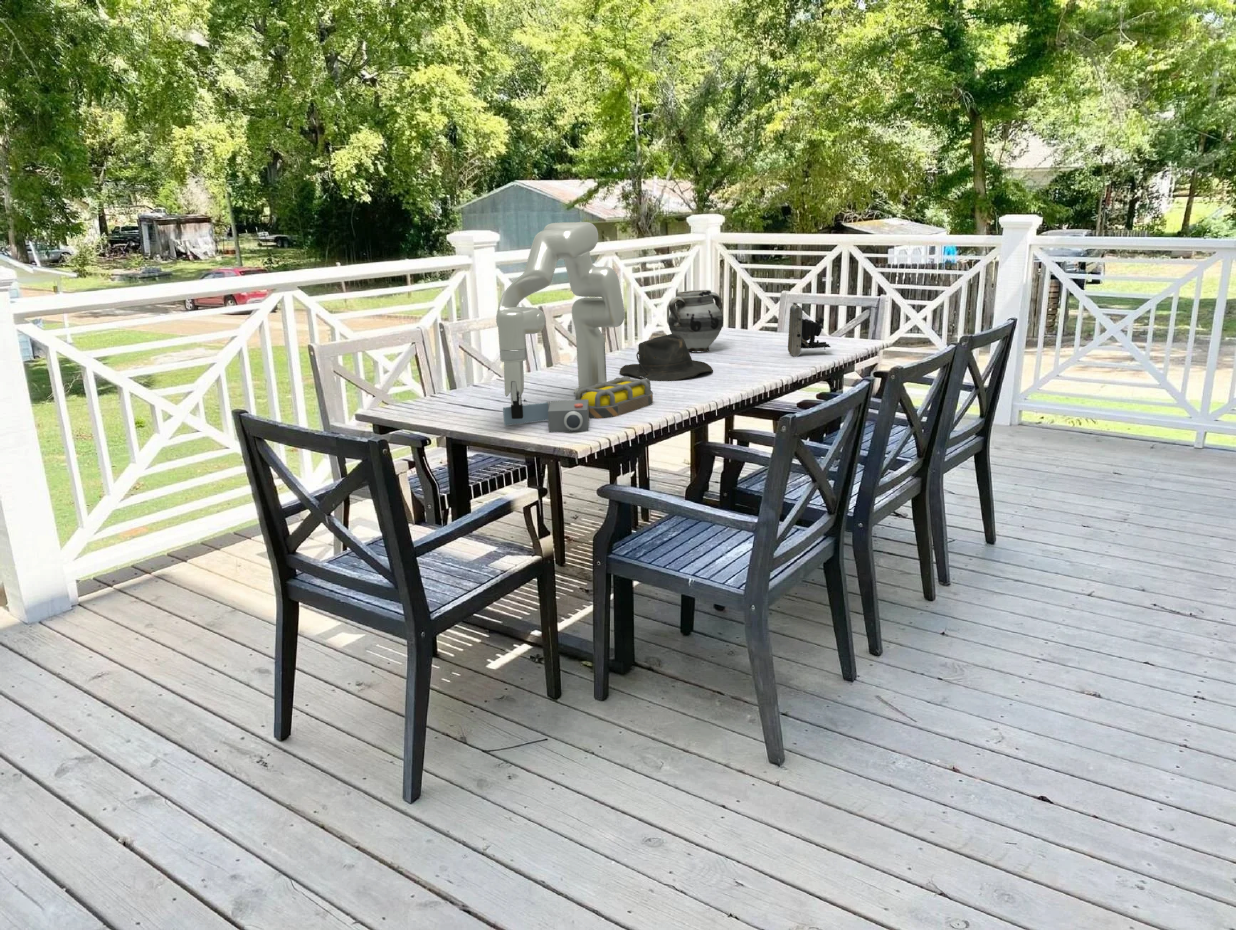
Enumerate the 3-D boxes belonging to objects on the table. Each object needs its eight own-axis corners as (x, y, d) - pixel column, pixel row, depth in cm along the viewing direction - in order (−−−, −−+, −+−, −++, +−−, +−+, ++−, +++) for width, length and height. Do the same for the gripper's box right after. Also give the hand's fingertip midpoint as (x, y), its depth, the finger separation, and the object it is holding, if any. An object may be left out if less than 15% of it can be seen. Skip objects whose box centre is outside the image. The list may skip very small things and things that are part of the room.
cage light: (563, 390, 278) (624, 373, 301) (565, 416, 281) (625, 397, 303) (601, 394, 270) (661, 377, 292) (603, 421, 272) (662, 402, 295)
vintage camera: (830, 357, 363) (833, 305, 358) (791, 357, 364) (793, 305, 358) (825, 353, 373) (828, 303, 368) (787, 353, 373) (789, 303, 368)
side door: (550, 419, 275) (549, 401, 273) (551, 420, 274) (550, 402, 272) (504, 425, 270) (502, 406, 268) (505, 425, 269) (503, 407, 267)
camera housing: (552, 420, 274) (550, 398, 272) (589, 419, 274) (588, 396, 272) (548, 433, 259) (547, 409, 257) (588, 432, 259) (587, 408, 257)
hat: (669, 385, 320) (668, 344, 316) (603, 374, 346) (601, 335, 342) (731, 372, 340) (731, 333, 336) (665, 362, 366) (664, 326, 362)
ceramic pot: (689, 358, 370) (688, 295, 363) (652, 352, 388) (650, 292, 381) (740, 349, 387) (739, 288, 381) (702, 344, 405) (701, 286, 398)
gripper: (502, 351, 270) (506, 413, 275) (497, 359, 255) (502, 424, 260) (528, 350, 270) (532, 412, 275) (524, 358, 255) (528, 423, 260)
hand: (517, 418), depth 267 cm, fingers closed
